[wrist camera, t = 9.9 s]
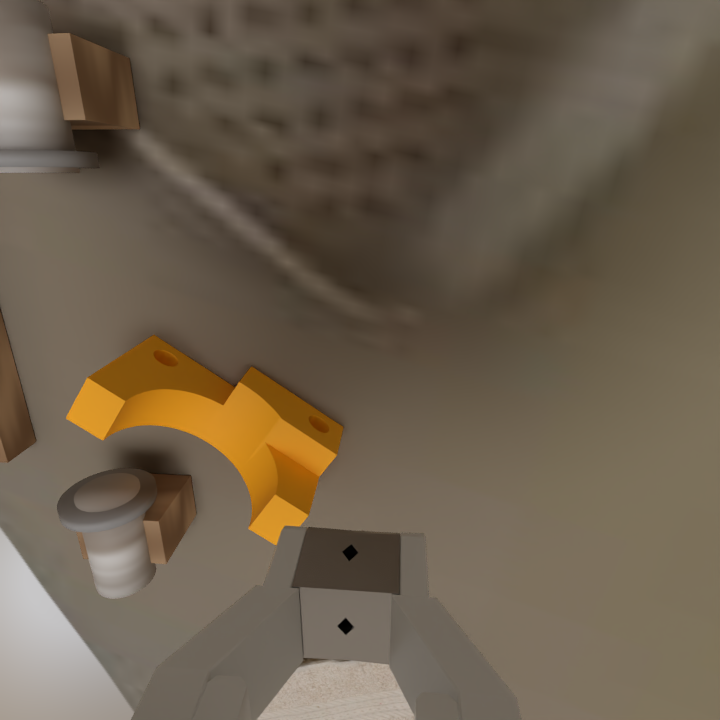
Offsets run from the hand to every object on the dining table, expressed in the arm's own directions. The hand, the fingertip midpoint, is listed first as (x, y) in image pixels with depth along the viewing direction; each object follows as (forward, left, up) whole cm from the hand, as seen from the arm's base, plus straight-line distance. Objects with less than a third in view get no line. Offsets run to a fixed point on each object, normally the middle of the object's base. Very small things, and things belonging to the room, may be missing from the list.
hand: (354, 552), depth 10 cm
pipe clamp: (+5, -8, -18) cm, 20 cm away
